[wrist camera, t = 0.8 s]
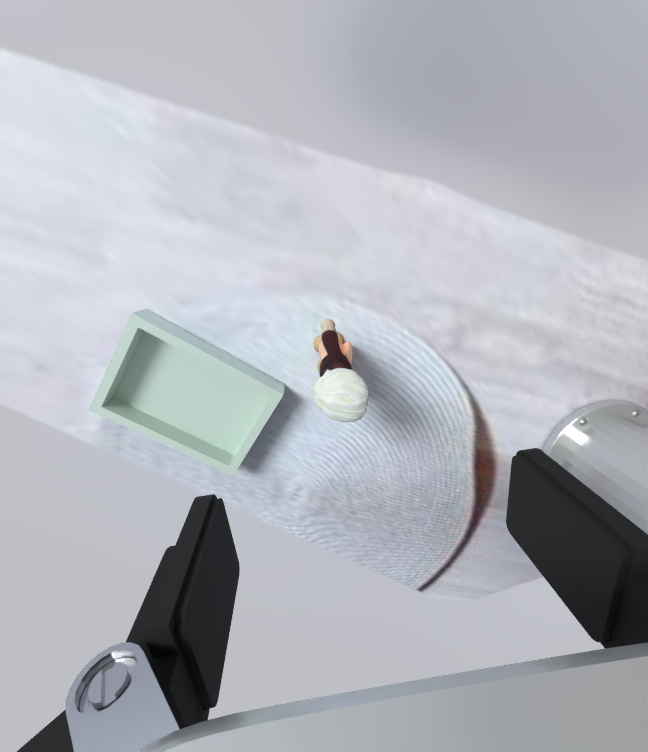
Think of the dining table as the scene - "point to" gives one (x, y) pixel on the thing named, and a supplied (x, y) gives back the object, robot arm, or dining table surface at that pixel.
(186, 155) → the dining table surface
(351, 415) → the grandmother figurine
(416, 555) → the dining table surface
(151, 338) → the tray
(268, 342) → the dining table surface
